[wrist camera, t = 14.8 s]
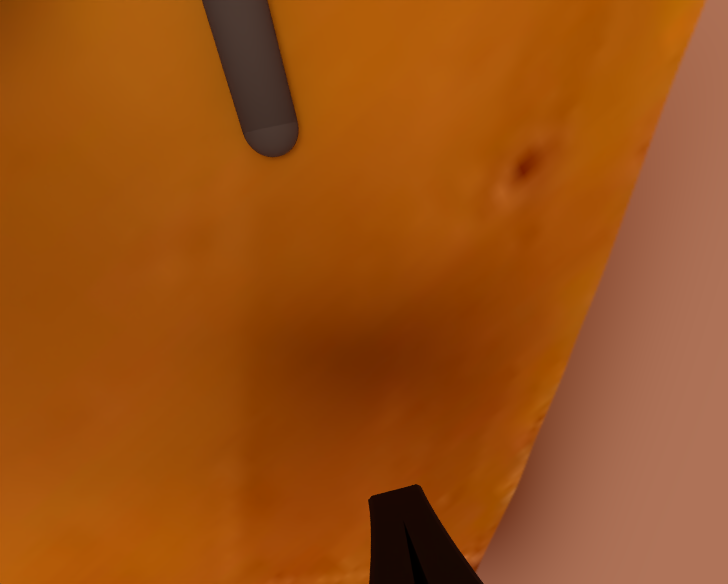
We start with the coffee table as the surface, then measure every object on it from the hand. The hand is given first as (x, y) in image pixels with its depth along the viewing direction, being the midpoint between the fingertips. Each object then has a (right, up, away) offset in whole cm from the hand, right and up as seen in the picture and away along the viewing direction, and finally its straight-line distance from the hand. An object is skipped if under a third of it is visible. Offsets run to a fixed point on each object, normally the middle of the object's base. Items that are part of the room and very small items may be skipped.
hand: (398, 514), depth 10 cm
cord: (-5, +16, +3) cm, 17 cm away
